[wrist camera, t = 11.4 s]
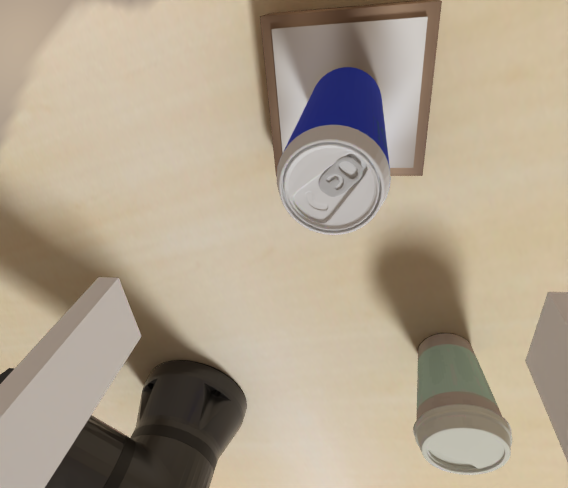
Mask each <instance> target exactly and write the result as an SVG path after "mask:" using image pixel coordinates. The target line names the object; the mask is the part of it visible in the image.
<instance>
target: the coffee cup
mask: <svg viewBox="0 0 568 488" xmlns="http://www.w3.org/2000/svg"><path fill="white" fill-rule="evenodd" d="M413 431H414V436H415V439H416V442H417V444H418V446H419V447H420V449H421V451H422V454H423V456H424V458H425V459H426V460H427V461H428V462H429V463H430V464H432V465H433V466H435V467H437V468H439V469H441V470H444V471H447V472H450V473H455V474H464V475H476V474H483V473H488V472H491V471H494V470H496V469H498V468H500V467H502V466H503V465H504V464H505V463H506V462H507V461H508V459H509V457H510V453H511V444H512V435H511V434H512V432H511V427H510V425H509V423H508V422H507V421H506V420H505V419H504V418H503V417H502V415H501V412H500V410H499V408H498V406H497V403H496V401H495V399H494V396H493V394H492V392H491V390H490V387H489V385H488V383H487V381H486V378H485V376H484V374H483V371H482V369H481V367H480V365H479V362H478V360H477V358H476V356H475V354H474V351H473V349H472V347H471V345H470V343H469V342H468V341H467V340H466V339H464V338H463V337H461V336H458V335H455V334H448V333H443V334H436V335H433V336H430V337H428V338H427V339H425V340H424V341H423V342H422V343H421V344H420V346H419V349H418V380H417V421H416V422H415V424H414V429H413Z"/></svg>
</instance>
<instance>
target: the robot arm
mask: <svg viewBox="0 0 568 488" xmlns="http://www.w3.org/2000/svg"><path fill="white" fill-rule="evenodd" d="M140 338H141V333H140V331H139V328H138V326H137V323H136V321H135V318H134V316H133V313H132V310H131V308H130V305H129V303H128V300H127V298H126V295H125V293H124V290H123V288H122V285H121V282H120V280H119V278H114V277H98V278H97V279H96V280H95V281H94V282H93V284H92V285H91V286H90V287H89V288H88V289H87V290H86V291H85V292H84V293H83V295H82V296H81V297H80V298H79V299H78V300H77V301H76V302H75V303H74V304H73V305H72V307H71V308H70V309H69V310H68V311H67V312H66V313H65V314H64V315H63V316H62V317H61V319H60V320H59V321H58V322H57V323H56V324H55V325H54V326H53V327H52V328H51V329H50V331H49V332H48V333H47V334H46V335H45V336H44V337H43V338H42V339H41V340H40V341H39V343H38V344H37V345H36V346H35V347H34V348H33V349H32V350H31V351H30V352H29V353H28V355H27V356H26V357H25V358H24V359H23V360H22V361H21V362H20V363H19V364H18V365H17V367H16V368H15V369H13V368H9V369H7V370H6V371H5V372H3V373H2V374H0V488H209V486H210V483H211V480H212V477H213V473H214V470H215V467H216V464H217V461H218V459H219V457H220V456H221V454H222V453H223V451H224V450H225V448H226V447H227V446H228V444H229V443H230V441H231V440H232V438H233V437H234V436H235V434H236V433H237V431H238V430H239V428H240V427H241V425H242V422H243V419H244V416H245V412H246V408H247V403H246V398H245V396H244V394H243V392H242V390H241V389H240V388H239V387H238V385H237V384H236V383H235V382H234V381H233V380H231V379H230V378H229V377H228V376H226V375H225V374H223V373H221V372H220V371H218V370H216V369H214V368H212V367H209V366H206V365H203V364H200V363H196V362H191V361H170V362H166V363H163V364H161V365H159V366H157V367H156V368H155V369H154V370H153V371H152V372H151V374H150V375H149V377H148V379H147V381H146V383H145V385H144V387H143V390H142V395H141V401H140V407H139V412H138V418H137V423H136V428H135V430H134V432H133V434H132V436H131V438H129V437H127V436H126V435H124V434H123V433H121V432H119V431H118V430H116V429H114V428H112V427H111V426H109V425H107V424H106V423H104V422H102V421H100V420H99V419H97V418H95V417H94V416H92V413H93V411H94V410H95V408H96V407H97V405H98V404H99V402H100V400H101V399H102V397H103V396H104V394H105V393H106V391H107V390H108V388H109V386H110V385H111V383H112V382H113V380H114V379H115V377H116V375H117V374H118V372H119V371H120V369H121V368H122V366H123V365H124V363H125V361H126V360H127V358H128V357H129V355H130V354H131V352H132V350H133V349H134V347H135V346H136V344H137V343H138V341H139V340H140ZM525 361H526V364H527V366H528V368H529V371H530V373H531V376H532V378H533V380H534V383H535V385H536V388H537V390H538V392H539V395H540V397H541V399H542V402H543V404H544V407H545V409H546V411H547V414H548V416H549V419H550V421H551V423H552V426H553V428H554V430H555V433H556V435H557V438H558V440H559V442H560V445H561V447H562V450H563V452H564V454H565V457H566V459H567V461H568V293H565V292H548V293H547V296H546V299H545V303H544V306H543V309H542V312H541V315H540V318H539V321H538V324H537V327H536V330H535V333H534V336H533V339H532V342H531V345H530V348H529V351H528V354H527V357H526V360H525Z"/></svg>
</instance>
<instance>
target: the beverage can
mask: <svg viewBox="0 0 568 488" xmlns="http://www.w3.org/2000/svg"><path fill="white" fill-rule="evenodd" d="M390 180H391V178H390V165H389V157H388V148H387V139H386V131H385V122H384V114H383V105H382V97H381V92H380V89H379V87H378V85H377V83H376V81H375V80H374V79H373V78H372V77H371V76H370V75H369V74H368V73H366V72H364V71H363V70H360V69H357V68H353V67H343V68H338V69H335V70H332V71H331V72H329V73H327V74H326V75H325V76H323V77H322V78H321V79H320V80H319V82H318V83H317V85H316V86H315V88H314V90H313V92H312V94H311V96H310V98H309V100H308V102H307V104H306V107H305V109H304V111H303V113H302V115H301V117H300V119H299V121H298V123H297V125H296V127H295V129H294V131H293V133H292V135H291V137H290V139H289V141H288V143H287V145H286V147H285V149H284V152H283V154H282V156H281V158H280V160H279V164H278V168H277V185H278V190H279V193H280V197H281V200H282V203H283V205H284V207H285V208H286V210H287V212H288V213H289V214H290V215H291V217H292V218H293V219H295V220H296V221H297V222H298V223H299V224H301V225H302V226H304V227H306V228H308V229H309V230H312V231H315V232H317V233H322V234H329V235H339V234H345V233H349V232H352V231H355V230H357V229H359V228H361V227H363V226H364V225H366V224H367V223H368V222H369V221H370V220H371V219H372V218H373V217H374V216H375V215H376V213H377V212H378V211H379V209H380V207H381V206H382V204H383V203H384V201H385V199H386V197H387V194H388V191H389V188H390Z"/></svg>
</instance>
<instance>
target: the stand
mask: <svg viewBox="0 0 568 488" xmlns="http://www.w3.org/2000/svg"><path fill="white" fill-rule="evenodd" d="M441 3H442V1H440V0H420V1H408V2H397V3H386V4H374V5H363V6H351V7H340V8H328V9H317V10H305V11H294V12H282V13H271V14H267V15H264V16H261V17H260V21H261V31H262V41H263V50H264V60H265V70H266V80H267V90H268V100H269V110H270V120H271V130H272V140H273V150H274V159H275V169H276V176H277V168H278V164H279V160H280V158H281V156H282V154H283V152H284V149H285V147H286V145H287V143H288V141H289V139H290V137H291V135H292V133H293V131H294V129H295V127H296V125H297V123H298V121H299V119H300V117H301V115H302V113H303V111H304V109H305V107H306V104H307V102H308V100H309V98H310V96H311V94H312V92H313V90H314V88H315V86H316V85H317V83H318V82H319V80H320V79H321V78H322V77H323V76H325V75H326V74H327V73H329V72H331V71H332V70H335V69H338V68H343V67H353V68H357V69H360V70H363V71H364V72H366V73H368V74H369V75H370V76H371V77H372V78H373V79H374V80H375V81H376V83H377V85H378V87H379V89H380V92H381V97H382V105H383V114H384V122H385V131H386V139H387V148H388V157H389V165H390V176H422V175H423V166H424V157H425V148H426V139H427V130H428V121H429V112H430V103H431V94H432V85H433V76H434V66H435V57H436V48H437V39H438V30H439V21H440V12H441Z"/></svg>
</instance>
